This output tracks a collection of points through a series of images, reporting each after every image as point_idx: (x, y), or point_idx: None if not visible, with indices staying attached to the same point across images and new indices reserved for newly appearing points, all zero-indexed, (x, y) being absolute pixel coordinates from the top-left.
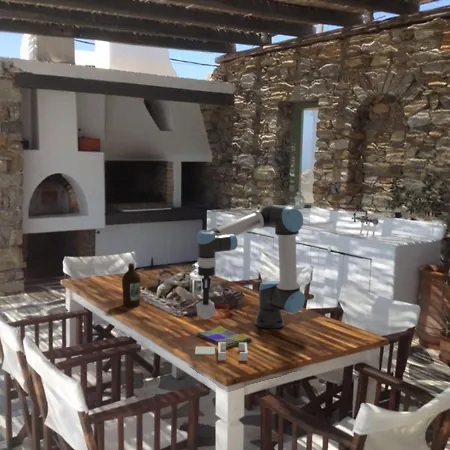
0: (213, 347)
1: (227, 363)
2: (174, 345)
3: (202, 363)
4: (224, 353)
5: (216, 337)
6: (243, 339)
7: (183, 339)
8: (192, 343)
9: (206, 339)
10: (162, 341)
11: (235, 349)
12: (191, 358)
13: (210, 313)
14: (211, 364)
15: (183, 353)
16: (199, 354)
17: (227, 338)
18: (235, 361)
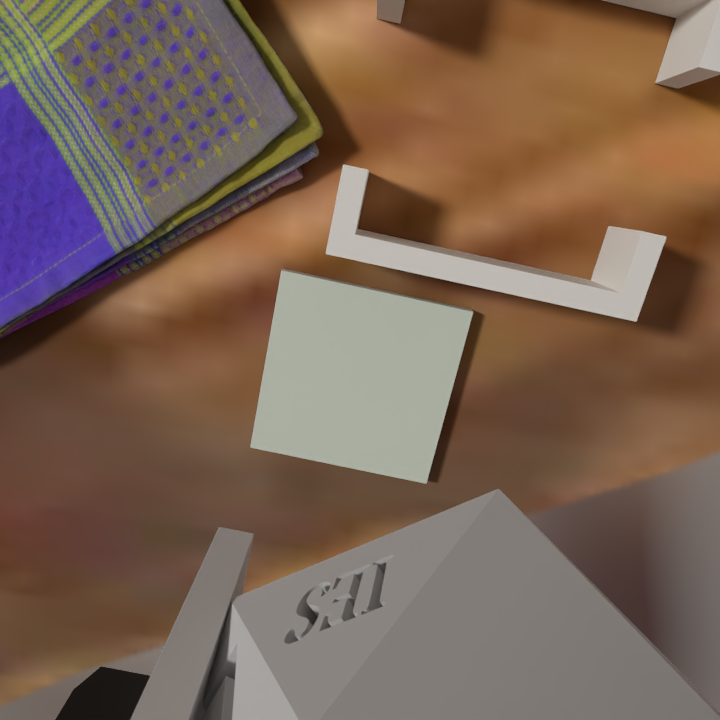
0: (300, 290)
1: (707, 232)
2: (178, 596)
3: (635, 450)
4: (656, 253)
5: (10, 200)
6: None
7: (30, 509)
8: (139, 451)
9: (44, 309)
10: (77, 667)
11: (354, 54)
12: None
13: (710, 703)
14: (682, 381)
15: None
16: (435, 442)
17: (25, 72)
18: (683, 139)
